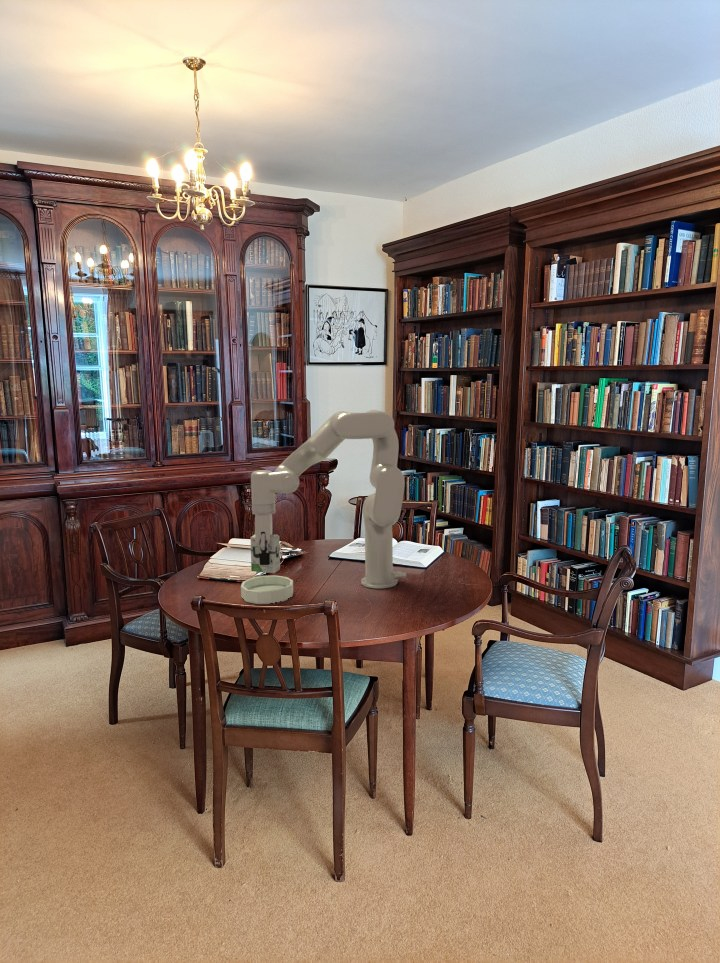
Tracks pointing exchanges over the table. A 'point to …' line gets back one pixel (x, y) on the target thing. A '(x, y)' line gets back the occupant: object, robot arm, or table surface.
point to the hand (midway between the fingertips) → (265, 561)
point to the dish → (267, 589)
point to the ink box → (273, 552)
